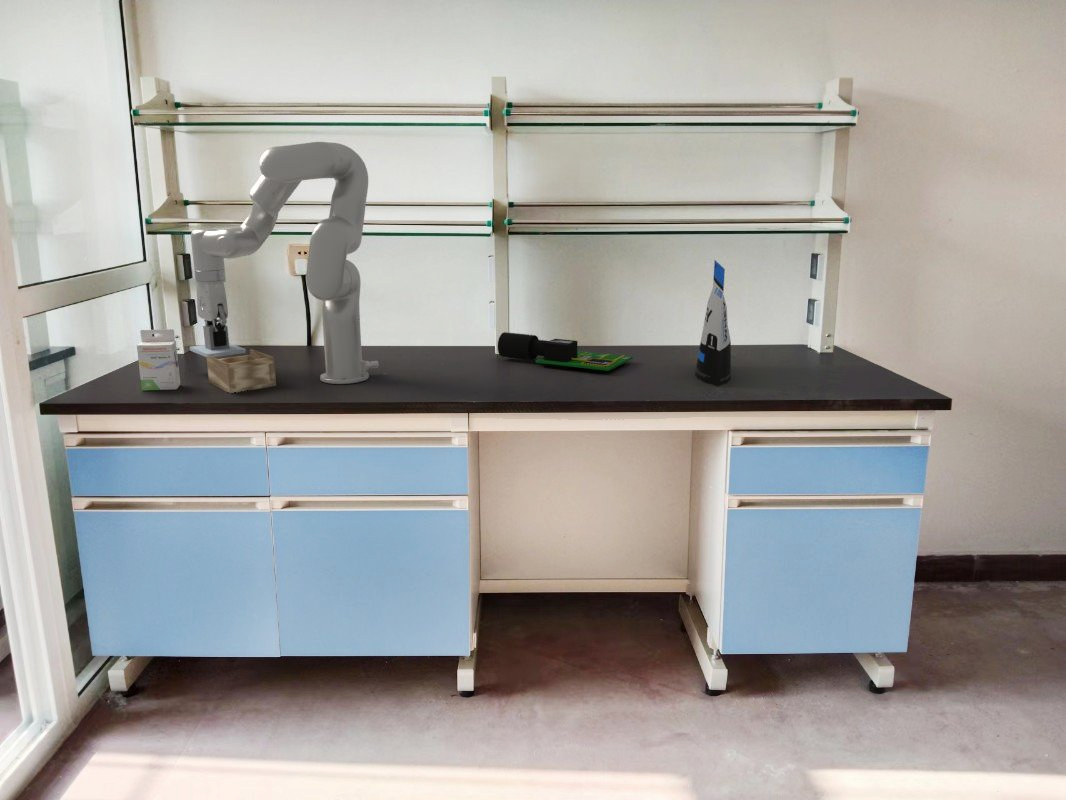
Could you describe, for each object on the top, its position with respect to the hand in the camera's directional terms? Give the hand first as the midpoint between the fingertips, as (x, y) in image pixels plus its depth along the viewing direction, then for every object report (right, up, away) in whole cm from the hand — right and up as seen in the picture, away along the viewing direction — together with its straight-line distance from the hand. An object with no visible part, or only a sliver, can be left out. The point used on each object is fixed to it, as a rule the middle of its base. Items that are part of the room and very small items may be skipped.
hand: (217, 343), depth 223 cm
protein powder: (+134, -9, +1) cm, 134 cm away
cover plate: (0, -2, 0) cm, 2 cm away
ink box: (-9, -12, -12) cm, 20 cm away
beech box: (+10, -11, -9) cm, 17 cm away
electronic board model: (+94, -5, +16) cm, 96 cm away
